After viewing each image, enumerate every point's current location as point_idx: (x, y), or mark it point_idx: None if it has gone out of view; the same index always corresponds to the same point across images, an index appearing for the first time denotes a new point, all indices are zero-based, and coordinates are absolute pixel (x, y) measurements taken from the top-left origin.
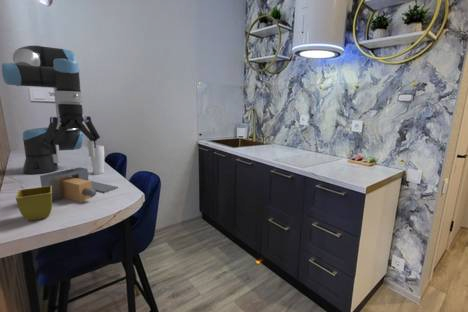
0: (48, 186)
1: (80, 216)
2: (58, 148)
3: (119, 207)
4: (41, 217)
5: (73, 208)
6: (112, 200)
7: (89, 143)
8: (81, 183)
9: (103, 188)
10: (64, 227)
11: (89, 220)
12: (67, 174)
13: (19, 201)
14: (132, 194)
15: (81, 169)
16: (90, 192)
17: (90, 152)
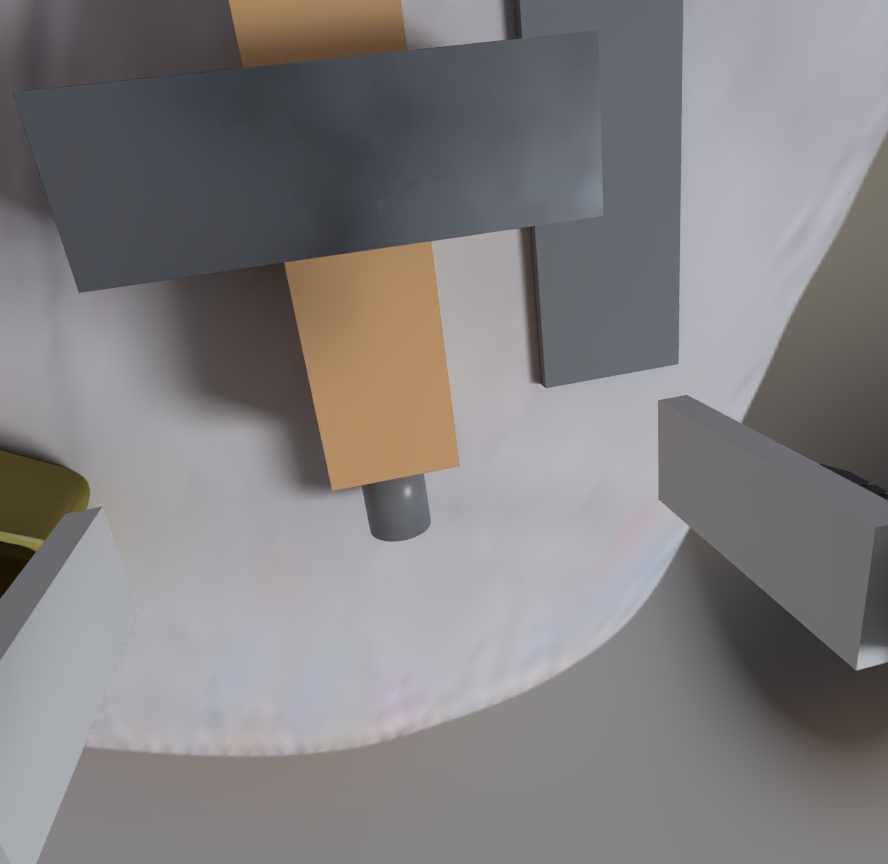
0: (30, 546)
1: (215, 669)
2: (45, 817)
3: (434, 695)
4: (8, 567)
5: (235, 522)
6: (479, 569)
7: (819, 545)
8: (367, 469)
9: (590, 305)
10: (95, 743)
11: (229, 745)
12: (331, 255)
13: None
14: (626, 562)
15: (540, 192)
16: (382, 534)
17: (696, 469)
